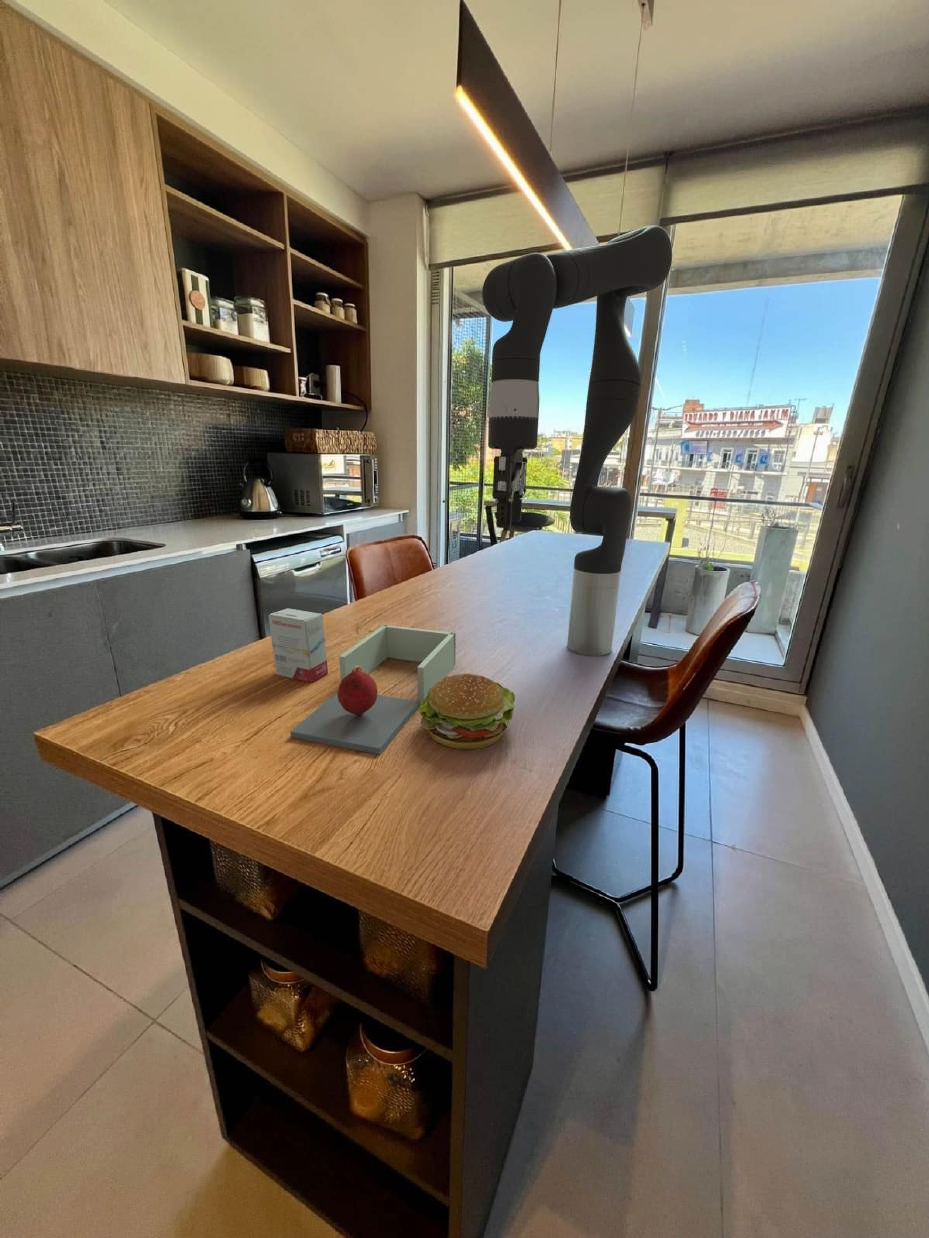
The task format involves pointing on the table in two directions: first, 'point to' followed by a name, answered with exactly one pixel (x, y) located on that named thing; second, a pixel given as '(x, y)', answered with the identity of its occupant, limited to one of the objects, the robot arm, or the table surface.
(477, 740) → the food
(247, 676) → the table surface
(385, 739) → the tile
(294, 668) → the ink box
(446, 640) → the cubby
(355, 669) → the onion
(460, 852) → the table surface
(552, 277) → the robot arm
